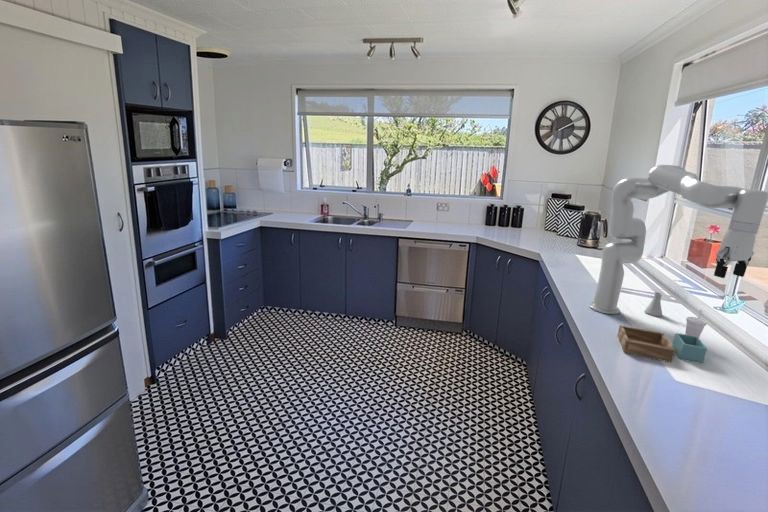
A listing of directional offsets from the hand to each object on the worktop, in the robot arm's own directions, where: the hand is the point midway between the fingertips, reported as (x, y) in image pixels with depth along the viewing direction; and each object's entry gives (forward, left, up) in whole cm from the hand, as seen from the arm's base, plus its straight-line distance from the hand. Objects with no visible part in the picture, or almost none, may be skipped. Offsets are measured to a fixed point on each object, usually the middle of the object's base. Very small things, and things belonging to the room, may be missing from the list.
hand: (728, 276), depth 143 cm
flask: (-40, -8, -32) cm, 52 cm away
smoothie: (-12, -1, -31) cm, 34 cm away
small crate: (+1, -5, -31) cm, 32 cm away
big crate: (+3, -20, -31) cm, 37 cm away
